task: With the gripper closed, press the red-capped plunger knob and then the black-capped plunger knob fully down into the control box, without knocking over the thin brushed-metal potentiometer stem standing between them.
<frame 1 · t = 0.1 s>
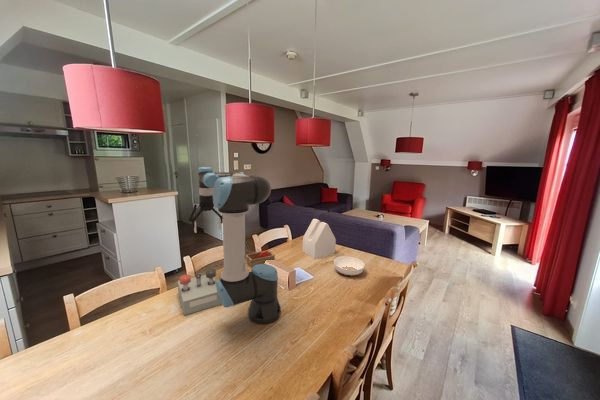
hand: (207, 230, 141), 28 cm above the table, fingers open, 13 cm apart
brown wooden crate: (260, 261, 165), on the table
bowl: (348, 271, 156), on the table
control box: (199, 298, 123), on the table
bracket: (260, 262, 165), resting in brown wooden crate
white house shaped block: (318, 253, 184), on the table
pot: (198, 285, 121), point 7 cm above the table, touching control box
knob black: (211, 279, 124), point 9 cm above the table, slide at 0.0 cm
knob red: (185, 285, 118), point 9 cm above the table, slide at 0.0 cm
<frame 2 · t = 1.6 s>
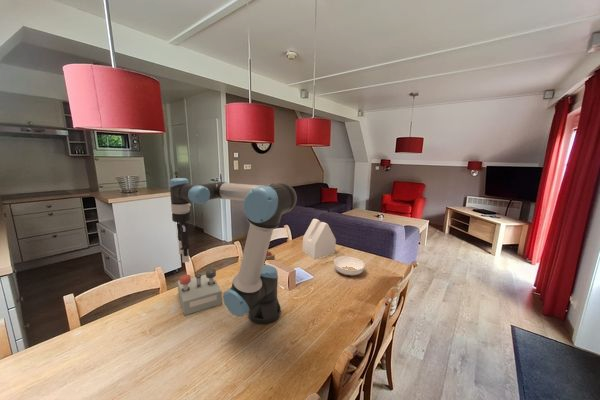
hand: (184, 257, 115), 24 cm above the table, fingers open, 10 cm apart
nothing on the table moved.
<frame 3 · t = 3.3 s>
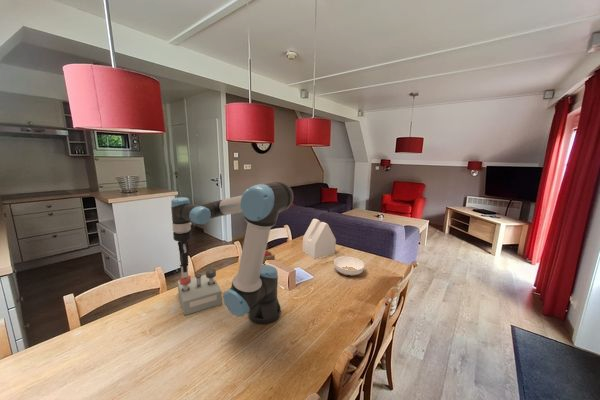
hand: (185, 277, 117), 13 cm above the table, fingers closed
knob red: (185, 286, 118), point 9 cm above the table, slide at 0.3 cm, touching gripper
everything else where it was.
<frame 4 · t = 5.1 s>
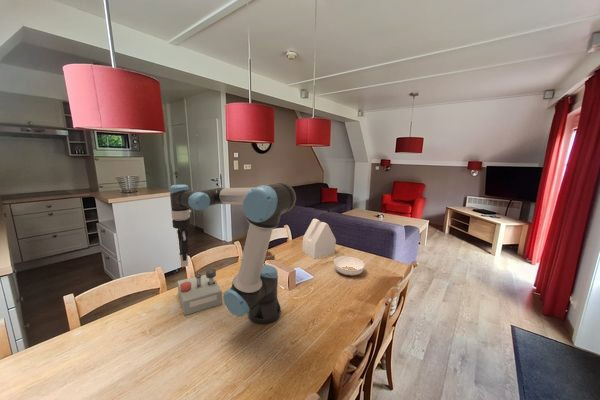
hand: (184, 265, 115), 19 cm above the table, fingers closed
knob red: (186, 292, 118), point 5 cm above the table, slide at 3.9 cm
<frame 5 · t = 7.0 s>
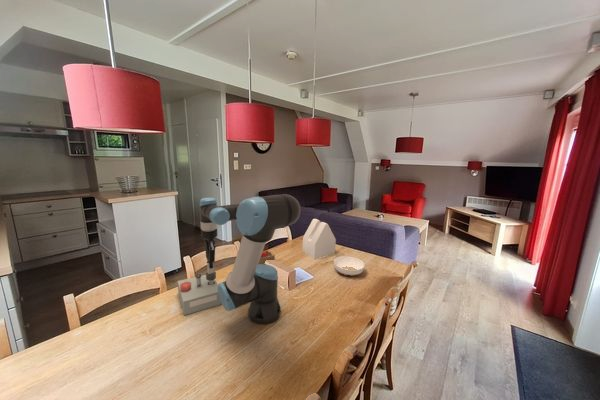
hand: (210, 272, 123), 12 cm above the table, fingers closed
knob black: (211, 281, 124), point 8 cm above the table, slide at 1.3 cm, touching gripper
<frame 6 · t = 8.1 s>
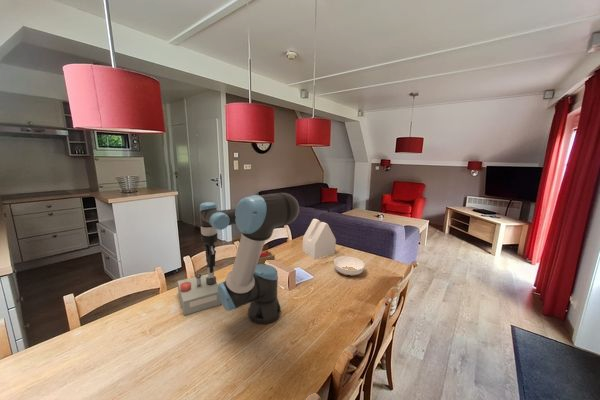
hand: (211, 277, 124), 10 cm above the table, fingers closed
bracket: (258, 263, 164), resting in brown wooden crate
knob black: (211, 286, 125), point 5 cm above the table, slide at 3.9 cm
everything else where it was.
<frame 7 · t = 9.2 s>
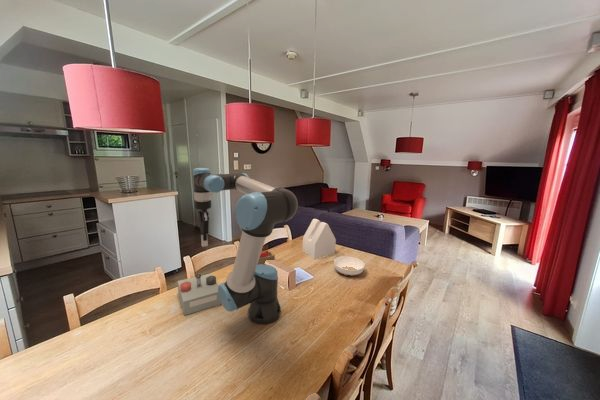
hand: (204, 245, 122), 27 cm above the table, fingers closed
nothing on the table moved.
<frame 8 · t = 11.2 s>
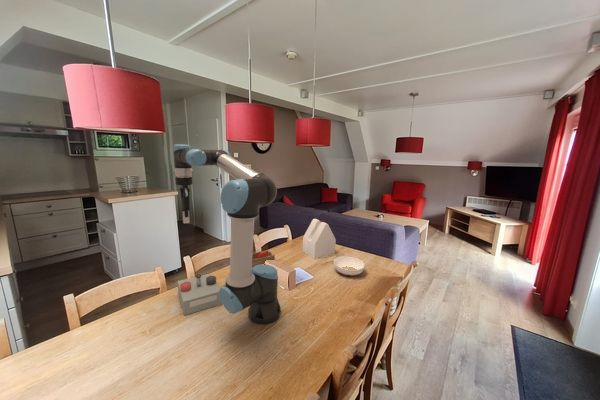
hand: (186, 222, 123), 37 cm above the table, fingers closed
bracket: (258, 263, 164), resting in brown wooden crate
everything else where it was.
at the end: knob red slide at 3.9 cm; knob black slide at 3.9 cm; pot moved 0.0 cm from its start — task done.
